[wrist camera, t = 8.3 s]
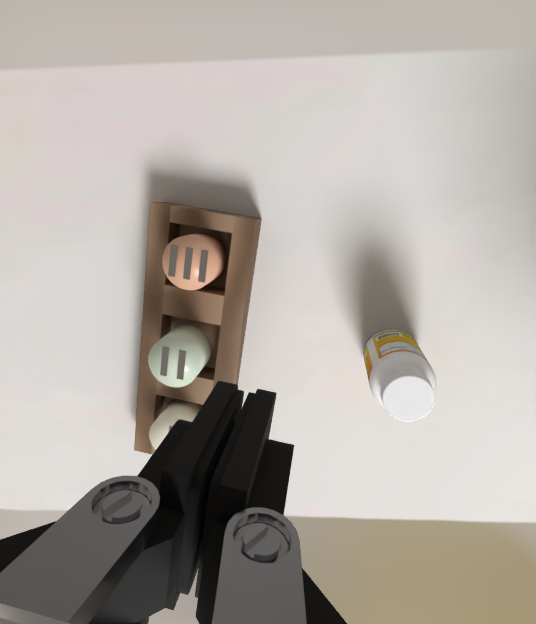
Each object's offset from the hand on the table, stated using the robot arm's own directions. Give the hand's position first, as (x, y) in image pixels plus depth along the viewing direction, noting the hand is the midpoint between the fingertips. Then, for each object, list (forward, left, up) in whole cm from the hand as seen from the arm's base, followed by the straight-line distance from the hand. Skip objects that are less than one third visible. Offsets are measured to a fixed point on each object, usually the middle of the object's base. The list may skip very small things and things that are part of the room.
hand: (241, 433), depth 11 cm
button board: (+10, +9, -29) cm, 32 cm away
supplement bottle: (-10, +7, -29) cm, 32 cm away
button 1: (+10, +18, -28) cm, 35 cm away
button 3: (+10, 0, -28) cm, 29 cm away
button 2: (+10, +9, -26) cm, 30 cm away
